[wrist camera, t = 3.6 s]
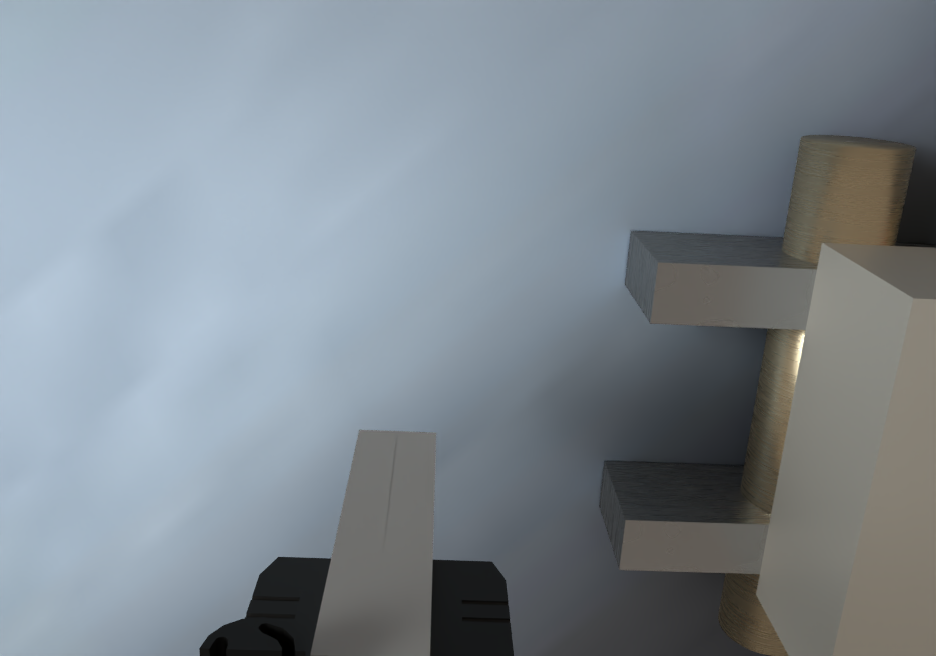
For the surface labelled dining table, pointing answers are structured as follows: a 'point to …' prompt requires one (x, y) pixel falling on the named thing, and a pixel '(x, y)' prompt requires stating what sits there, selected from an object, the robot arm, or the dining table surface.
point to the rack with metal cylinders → (785, 315)
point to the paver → (859, 464)
